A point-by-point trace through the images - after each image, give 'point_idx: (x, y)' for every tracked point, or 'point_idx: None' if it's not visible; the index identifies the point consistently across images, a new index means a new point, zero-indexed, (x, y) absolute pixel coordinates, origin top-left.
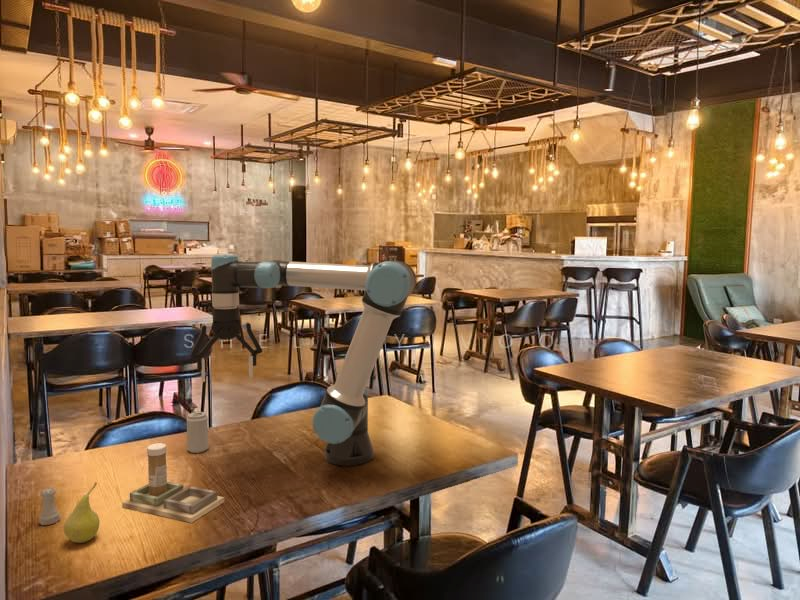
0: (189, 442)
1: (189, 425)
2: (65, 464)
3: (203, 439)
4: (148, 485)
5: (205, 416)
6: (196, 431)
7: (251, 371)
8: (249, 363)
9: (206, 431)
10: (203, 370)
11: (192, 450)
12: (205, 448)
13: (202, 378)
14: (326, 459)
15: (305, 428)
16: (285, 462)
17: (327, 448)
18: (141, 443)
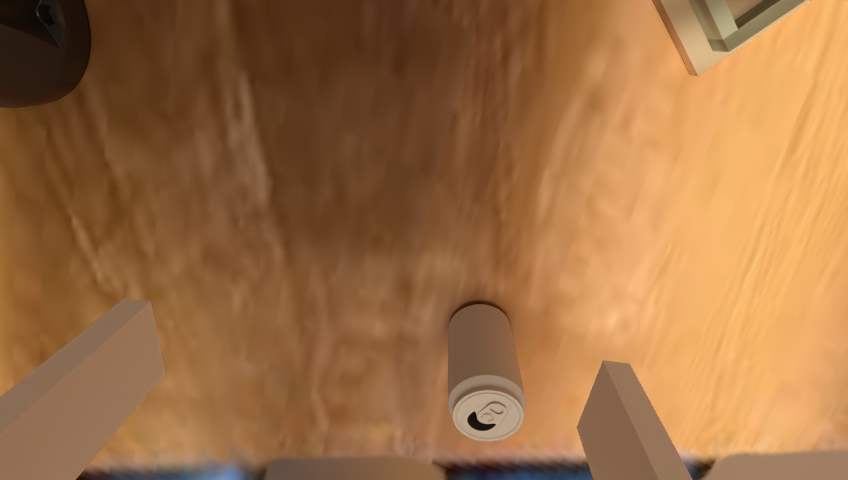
0: (511, 336)
1: (519, 377)
2: (819, 394)
3: (470, 327)
4: (779, 3)
5: (459, 395)
6: (496, 348)
7: (88, 344)
8: (40, 467)
9: (458, 349)
10: (672, 472)
11: (502, 313)
12: (462, 310)
13: (642, 391)
14: (82, 12)
15: None
16: (239, 83)
17: (47, 35)
18: None
